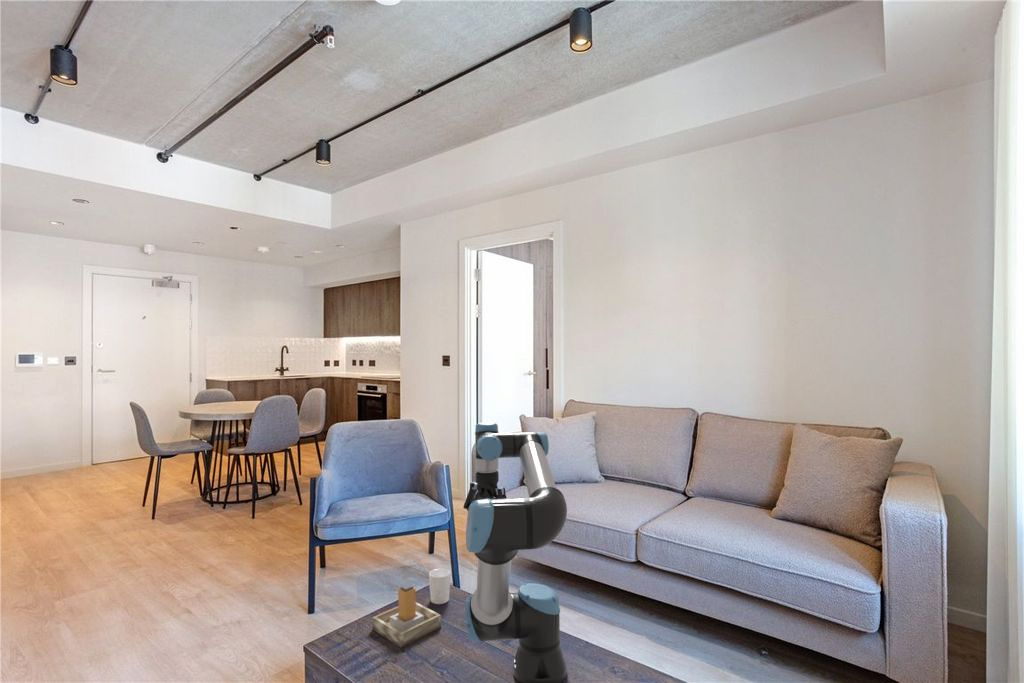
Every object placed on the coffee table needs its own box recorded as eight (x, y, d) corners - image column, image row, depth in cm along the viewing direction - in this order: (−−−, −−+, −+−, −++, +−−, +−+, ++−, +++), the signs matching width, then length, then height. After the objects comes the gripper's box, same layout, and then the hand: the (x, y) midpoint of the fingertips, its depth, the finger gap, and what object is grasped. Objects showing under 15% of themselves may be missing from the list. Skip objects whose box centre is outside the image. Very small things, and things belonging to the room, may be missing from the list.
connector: (415, 624, 170) (415, 586, 170) (405, 629, 167) (405, 590, 167) (408, 620, 173) (408, 582, 173) (398, 625, 170) (398, 586, 170)
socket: (423, 624, 170) (423, 615, 170) (404, 634, 164) (404, 625, 164) (409, 616, 175) (409, 607, 175) (389, 625, 169) (389, 616, 170)
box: (441, 627, 170) (440, 614, 170) (401, 647, 158) (401, 634, 159) (411, 611, 181) (411, 599, 181) (372, 629, 169) (372, 617, 169)
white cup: (454, 597, 191) (454, 570, 191) (443, 606, 184) (443, 578, 184) (436, 593, 194) (436, 567, 195) (425, 602, 187) (424, 575, 188)
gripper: (523, 473, 162) (524, 541, 161) (468, 463, 178) (469, 525, 178) (507, 477, 156) (508, 548, 156) (452, 467, 173) (453, 530, 172)
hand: (487, 535), depth 167 cm, fingers open, 13 cm apart
